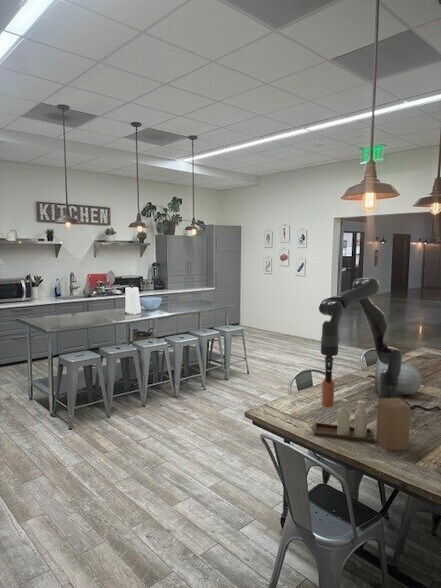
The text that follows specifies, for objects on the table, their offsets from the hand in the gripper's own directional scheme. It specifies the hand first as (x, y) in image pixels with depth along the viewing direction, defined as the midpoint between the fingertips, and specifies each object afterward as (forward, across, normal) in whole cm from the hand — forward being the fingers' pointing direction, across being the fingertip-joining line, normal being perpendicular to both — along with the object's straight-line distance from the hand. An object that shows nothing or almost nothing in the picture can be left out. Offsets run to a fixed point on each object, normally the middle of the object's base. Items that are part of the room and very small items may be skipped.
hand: (328, 380), depth 181 cm
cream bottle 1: (+25, 0, -7) cm, 26 cm away
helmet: (+25, +64, -37) cm, 78 cm away
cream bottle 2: (+25, 0, -15) cm, 29 cm away
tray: (+25, 0, -7) cm, 26 cm away
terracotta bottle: (+12, 0, 0) cm, 12 cm away
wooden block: (+25, -5, -27) cm, 38 cm away
